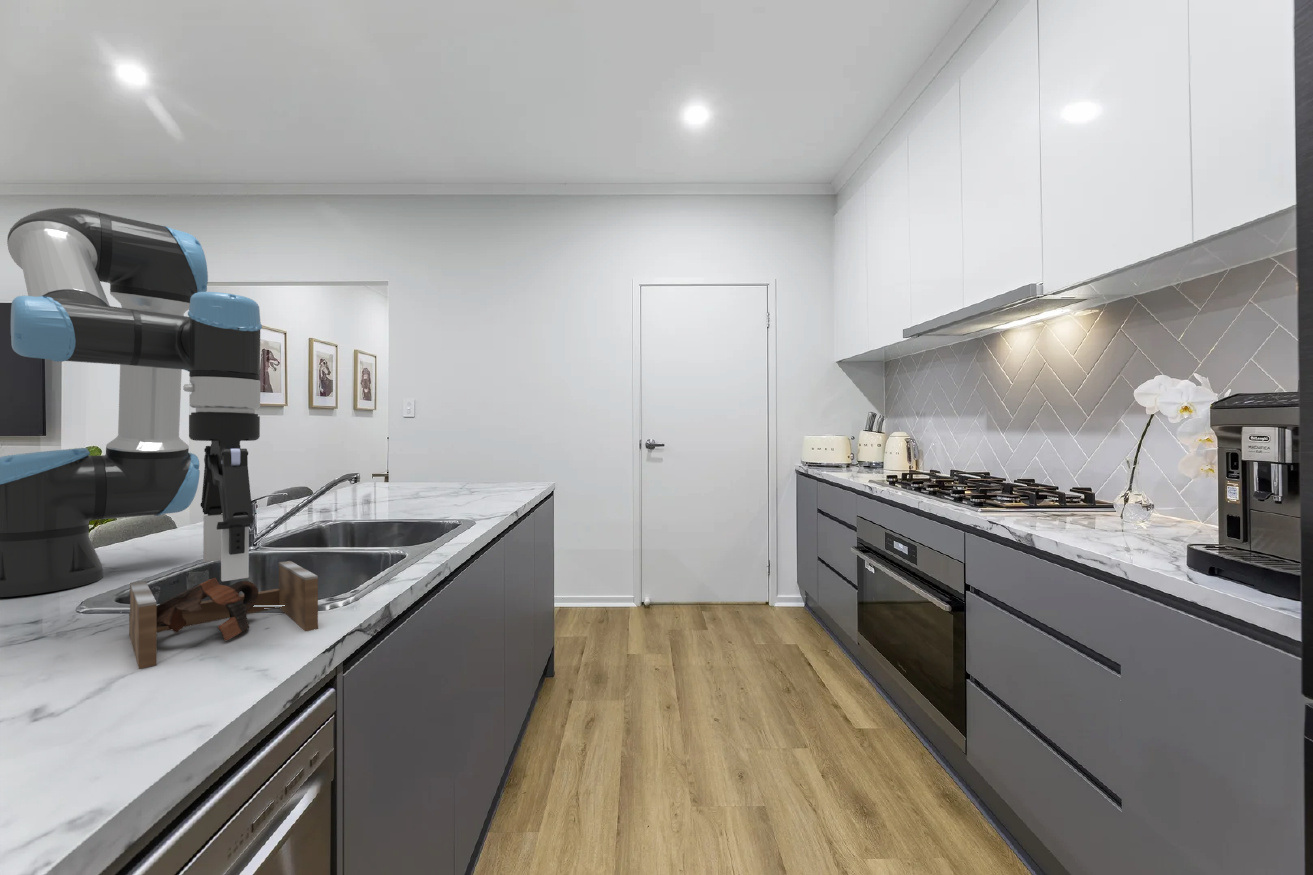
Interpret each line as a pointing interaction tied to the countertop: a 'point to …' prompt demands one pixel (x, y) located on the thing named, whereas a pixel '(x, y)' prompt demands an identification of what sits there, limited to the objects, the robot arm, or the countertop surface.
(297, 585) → the wooden stand
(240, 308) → the robot arm
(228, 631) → the pottery mug
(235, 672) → the countertop surface
